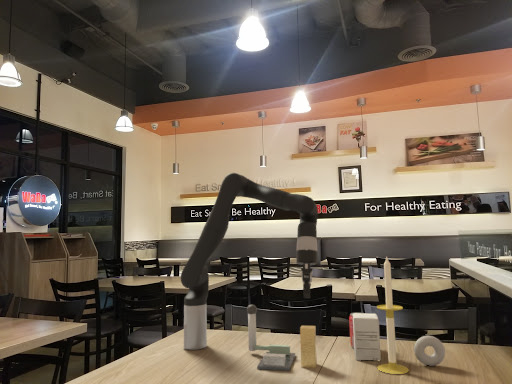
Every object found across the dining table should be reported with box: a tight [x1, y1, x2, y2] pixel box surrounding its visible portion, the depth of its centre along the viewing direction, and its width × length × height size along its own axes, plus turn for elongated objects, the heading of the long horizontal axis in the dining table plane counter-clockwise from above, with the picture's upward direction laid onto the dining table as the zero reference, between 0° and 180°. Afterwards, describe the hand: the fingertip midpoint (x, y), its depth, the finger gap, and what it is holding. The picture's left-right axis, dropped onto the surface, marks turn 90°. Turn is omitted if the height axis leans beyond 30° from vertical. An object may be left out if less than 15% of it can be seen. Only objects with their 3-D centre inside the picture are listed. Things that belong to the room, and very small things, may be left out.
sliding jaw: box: [246, 304, 291, 355], centre depth 150 cm, size 6×17×17 cm, turn 77°
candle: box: [375, 257, 410, 375], centre depth 133 cm, size 10×10×38 cm
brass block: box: [299, 325, 318, 369], centre depth 137 cm, size 4×5×13 cm
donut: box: [413, 335, 446, 367], centre depth 134 cm, size 10×4×10 cm, turn 80°
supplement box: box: [352, 312, 382, 362], centre depth 145 cm, size 9×9×15 cm
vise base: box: [256, 351, 296, 372], centre depth 141 cm, size 16×11×4 cm, turn 167°
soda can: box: [348, 312, 354, 349], centre depth 157 cm, size 7×7×13 cm
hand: (306, 296), depth 137 cm, fingers open, 8 cm apart
